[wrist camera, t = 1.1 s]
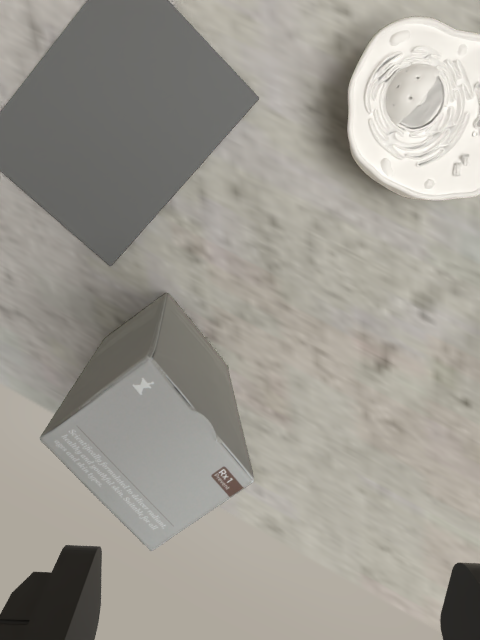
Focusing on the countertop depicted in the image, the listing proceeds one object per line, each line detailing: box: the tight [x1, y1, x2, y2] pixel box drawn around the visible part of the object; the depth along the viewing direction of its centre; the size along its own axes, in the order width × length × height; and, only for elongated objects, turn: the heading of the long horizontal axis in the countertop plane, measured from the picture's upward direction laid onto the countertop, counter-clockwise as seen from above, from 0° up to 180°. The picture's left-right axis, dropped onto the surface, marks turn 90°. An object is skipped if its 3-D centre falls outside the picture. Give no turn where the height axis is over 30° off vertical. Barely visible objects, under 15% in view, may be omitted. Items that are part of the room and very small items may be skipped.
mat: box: [0, 0, 259, 266], centre depth 30 cm, size 16×12×1 cm
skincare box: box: [40, 293, 254, 551], centre depth 27 cm, size 8×7×16 cm
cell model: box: [347, 16, 480, 200], centre depth 28 cm, size 10×12×7 cm
